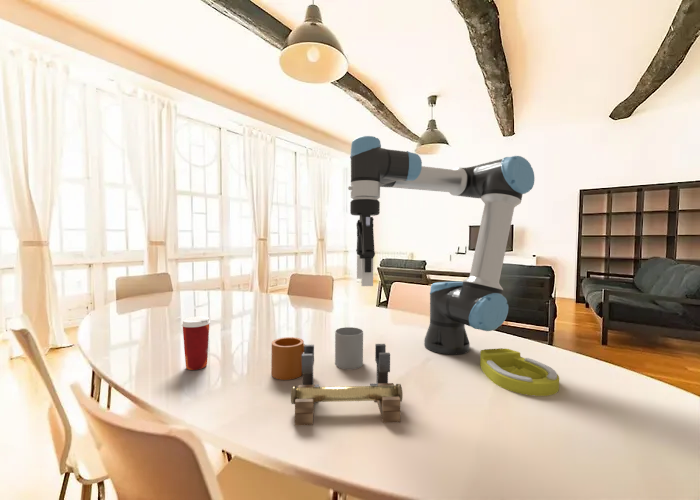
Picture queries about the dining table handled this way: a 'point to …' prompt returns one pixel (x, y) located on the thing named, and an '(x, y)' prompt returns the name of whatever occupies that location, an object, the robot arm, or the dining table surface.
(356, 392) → the rail
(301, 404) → the rest
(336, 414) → the dining table surface
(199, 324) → the paper cup
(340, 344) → the cup
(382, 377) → the post
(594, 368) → the dining table surface
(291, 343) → the mug
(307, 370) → the post
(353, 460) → the dining table surface
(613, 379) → the dining table surface
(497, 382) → the ashtray
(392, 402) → the rest
